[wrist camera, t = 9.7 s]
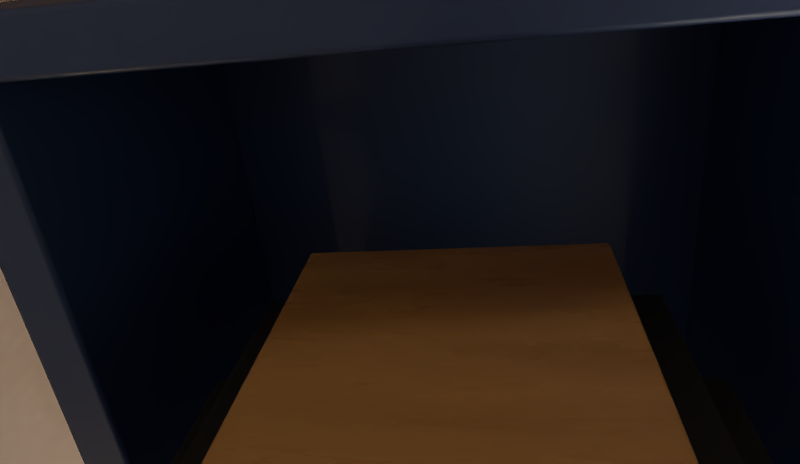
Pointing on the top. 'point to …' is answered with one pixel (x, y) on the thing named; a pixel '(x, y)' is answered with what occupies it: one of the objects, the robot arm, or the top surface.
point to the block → (456, 365)
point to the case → (385, 175)
